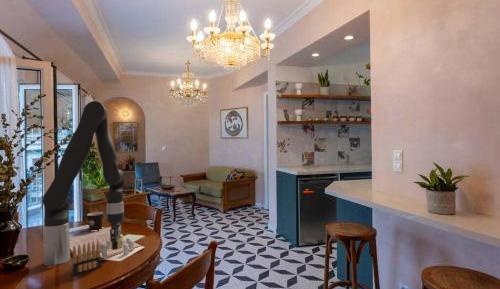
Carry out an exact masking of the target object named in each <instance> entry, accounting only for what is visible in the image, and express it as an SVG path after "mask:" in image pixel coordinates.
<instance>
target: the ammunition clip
mask: <svg viewBox="0 0 500 289" xmlns="http://www.w3.org/2000/svg"><path fill="white" fill-rule="evenodd" d="M91 255H92V257H91ZM71 259H72V264H71V265H72V267H71V268H72V269H71V270H72V272H71V275H72V277H76V276H77V277H78V276H80V275H83V274H86V273H91V272H92V271H94V270H96V269H100V268H102V266H103V265H102V259H101V255H100V241H99V240H97V241H96V244H95V241H92V244H90V242H87V246H86V244H85V243H83V244H82V247H81V245H80V244H78V246H77V248H76V246H75V245H74V246H73V247H72V258H71Z"/></svg>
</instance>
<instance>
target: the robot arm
mask: <svg viewBox="0 0 500 289" xmlns="http://www.w3.org/2000/svg"><path fill="white" fill-rule="evenodd" d="M94 135H95V137H96V143H97V149H98V154H99V157H100V160H101V163H102V174H103V178H104V181H105V182H106V184H108V185H109V186H108V187H109V188H108V190H107V192H106V222H107V224H111V226H110V229H109V234H110V235H109V236H110V237H109V240H110V239H111V240H110V241H111V242H112V249H113V250H116V249H117V248H118V236H121V235H122V223H123V222H124V221H125V204H124V203H125V202H124V187H125V173H124V171H123V170H122V169H119V168H118V162H119V159H118V158H119V157H118V155H117V154H118V153H117V152H116V151H117V150H116V146H115V145H114V142H113V139H112V135H111V132H110V129H109V123H108V110H107V108H106V106H105V105H104V104H103V103H102V102H100V101H97V100H92V101H89V102H87V103H86V104H85V106H84V108H83V111H82V114H81V115H80V120H79V122H78V124H77V127H76V128H75V131H74V132H73V135H72V136H71V138H70V140H69V142H68V144H67V145H66V148H65V150H64V152H63V154H62V156H61V159H60V161H59V164H58V168H57V171H56V174H55V176H54V178H53V180H52V182H51V184H50V185H49V187H48V188H47V190H46V191H45V193H44V195H43V196H42V204H43V206H44V219H43V220H44V221H43V224H44V243H43V244H42V250H43V252H42V254H43V265H44V266H49V267H50V266H52V267H56V266H58V265H61V264H64V263H67V262H69V261H70V260H71V245H70V220H69V217H70V211H69V208H70V207H69V206H70V205H69V204H70V202H69V194H70V191H71V188H72V186H73V183H74V182H75V180H76V177H77V176H78V175H79V173H80V171H81V169H82V168H83V166H84V164H85V163H86V160H87V158H88V157H89V156H88V155H89V154H90V151H91V147H92V144H93V141H94ZM113 237H115V239H113ZM121 237H122V236H121Z"/></svg>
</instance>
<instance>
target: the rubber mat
mask: <svg viewBox="0 0 500 289" xmlns="http://www.w3.org/2000/svg"><path fill="white" fill-rule="evenodd" d="M122 237H123V239H124V240H125V241H126V239H127V238H131V240H134V243H135V242H137V241H138V240H141V239H144V238H146V235H141V234H137V235H136V234H126V235H124V236H122Z"/></svg>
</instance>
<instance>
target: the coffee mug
mask: <svg viewBox="0 0 500 289" xmlns="http://www.w3.org/2000/svg"><path fill="white" fill-rule="evenodd" d="M85 217H86V218H87V221H88V222H87V221H85ZM82 220H83V222H84V224H87V225H88V227H89V228H88V229H89V231H90V230H99V229H103V220H104V212H103V211H95V212H91V213H90V212H89V213H87V214H86V215H84V216H83V218H82Z"/></svg>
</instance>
